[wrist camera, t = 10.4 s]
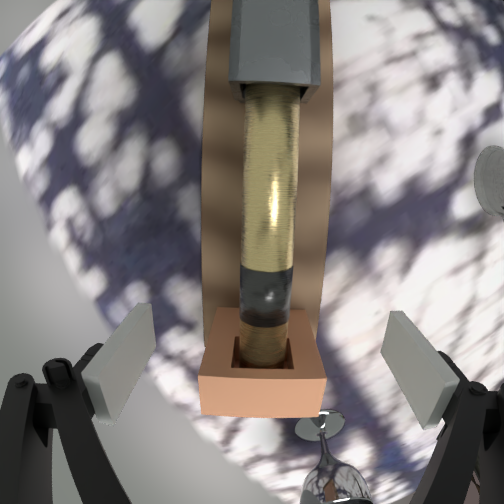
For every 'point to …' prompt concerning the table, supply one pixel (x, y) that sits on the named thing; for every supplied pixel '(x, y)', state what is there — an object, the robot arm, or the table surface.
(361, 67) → the table surface
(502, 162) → the glass holder
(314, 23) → the grey bridge block
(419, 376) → the robot arm
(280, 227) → the tube
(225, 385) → the socket block
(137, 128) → the table surface
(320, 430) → the wine glass
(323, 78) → the base board
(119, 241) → the table surface
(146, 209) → the table surface
